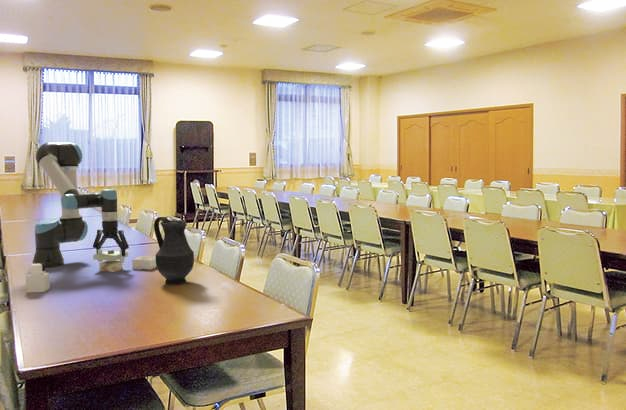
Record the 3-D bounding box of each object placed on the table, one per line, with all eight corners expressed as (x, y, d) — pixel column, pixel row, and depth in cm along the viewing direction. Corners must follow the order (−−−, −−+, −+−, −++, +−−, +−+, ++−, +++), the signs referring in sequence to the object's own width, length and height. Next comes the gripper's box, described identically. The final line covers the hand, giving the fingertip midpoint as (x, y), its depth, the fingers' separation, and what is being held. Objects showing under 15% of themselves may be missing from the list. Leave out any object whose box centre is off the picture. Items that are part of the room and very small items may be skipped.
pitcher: (175, 288, 256) (173, 220, 253) (142, 282, 267) (140, 217, 264) (202, 281, 270) (201, 217, 267) (170, 276, 281) (169, 214, 278)
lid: (93, 259, 290) (93, 251, 290) (107, 255, 302) (107, 248, 301) (114, 260, 287) (114, 252, 287) (128, 256, 299) (127, 249, 298)
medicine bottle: (33, 288, 254) (32, 261, 253) (50, 288, 255) (48, 261, 254) (26, 292, 247) (25, 265, 246) (43, 292, 248) (42, 264, 247)
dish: (132, 268, 298) (132, 259, 297) (142, 265, 307) (142, 255, 307) (149, 270, 295) (149, 260, 295) (159, 266, 305) (159, 256, 304)
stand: (99, 270, 292) (99, 263, 292) (109, 267, 300) (108, 260, 300) (113, 271, 290) (113, 263, 290) (122, 268, 298) (122, 261, 298)
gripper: (84, 220, 292) (85, 262, 294) (126, 221, 286) (128, 264, 288) (93, 218, 300) (95, 259, 301) (135, 219, 293) (136, 262, 295)
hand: (111, 262), depth 295 cm, fingers closed on lid, 12 cm apart
